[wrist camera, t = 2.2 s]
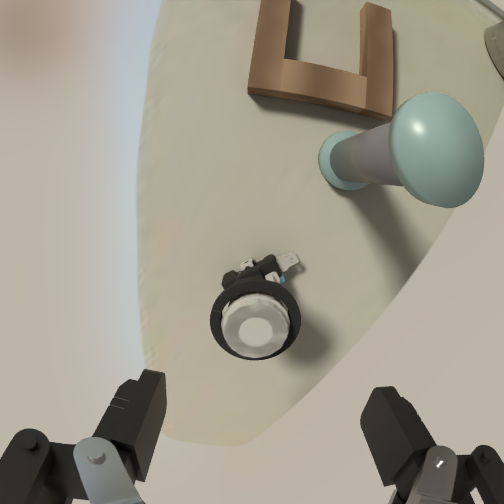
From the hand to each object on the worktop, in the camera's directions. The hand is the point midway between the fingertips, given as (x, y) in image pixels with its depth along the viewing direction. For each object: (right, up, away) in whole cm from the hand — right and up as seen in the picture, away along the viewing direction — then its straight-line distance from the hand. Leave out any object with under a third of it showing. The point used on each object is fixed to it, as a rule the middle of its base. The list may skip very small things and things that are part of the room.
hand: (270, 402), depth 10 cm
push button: (0, +4, +16) cm, 16 cm away
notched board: (+6, +24, +11) cm, 27 cm away
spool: (+7, +13, +13) cm, 20 cm away
